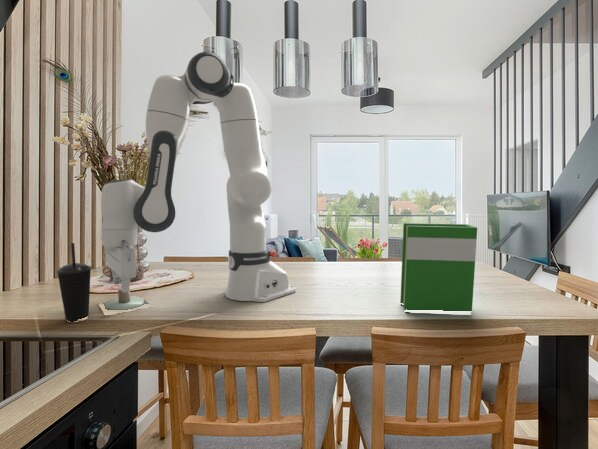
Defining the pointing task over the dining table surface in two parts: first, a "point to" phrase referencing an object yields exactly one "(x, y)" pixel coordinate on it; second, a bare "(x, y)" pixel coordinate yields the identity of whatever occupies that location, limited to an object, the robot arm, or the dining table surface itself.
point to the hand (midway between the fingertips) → (120, 287)
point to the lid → (124, 301)
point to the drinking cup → (75, 288)
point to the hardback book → (438, 266)
